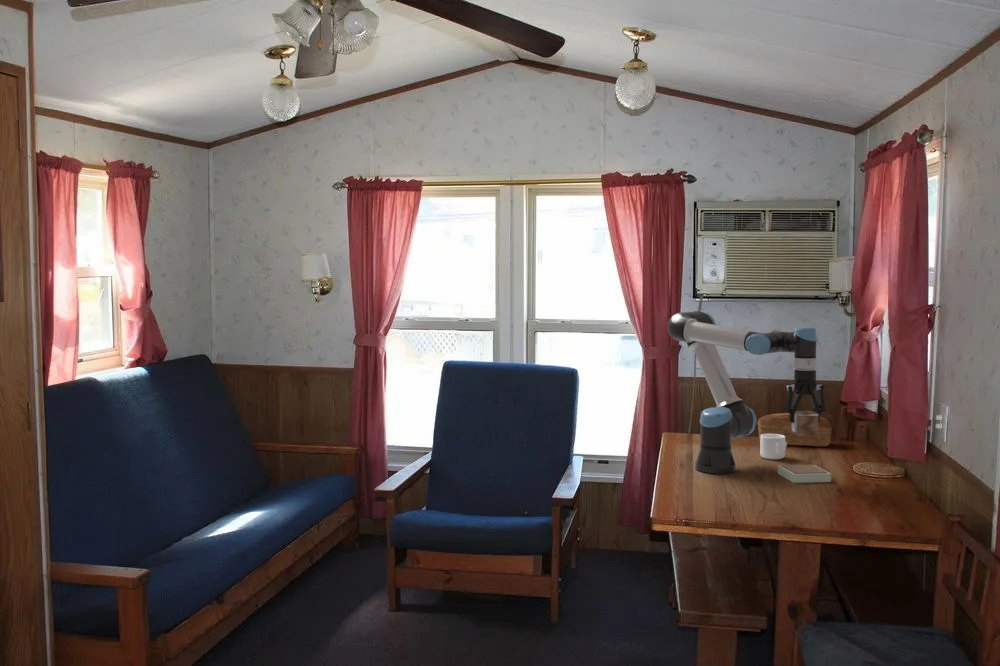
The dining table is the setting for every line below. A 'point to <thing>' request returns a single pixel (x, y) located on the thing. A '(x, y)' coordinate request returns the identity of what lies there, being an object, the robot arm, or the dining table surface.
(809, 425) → the block
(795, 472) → the base
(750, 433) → the robot arm
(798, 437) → the bread
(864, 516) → the dining table surface
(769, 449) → the mug
